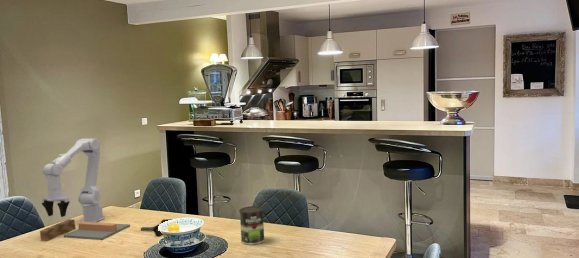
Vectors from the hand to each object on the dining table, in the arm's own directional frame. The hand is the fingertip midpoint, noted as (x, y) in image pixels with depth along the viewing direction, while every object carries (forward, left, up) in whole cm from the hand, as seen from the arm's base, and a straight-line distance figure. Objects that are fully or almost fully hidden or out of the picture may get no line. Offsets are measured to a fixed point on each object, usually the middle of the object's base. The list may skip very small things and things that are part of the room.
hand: (57, 216), depth 214 cm
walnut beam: (0, 0, -10) cm, 10 cm away
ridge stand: (-7, +17, -9) cm, 21 cm away
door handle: (-16, +46, -10) cm, 50 cm away
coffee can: (-8, +98, -9) cm, 99 cm away
